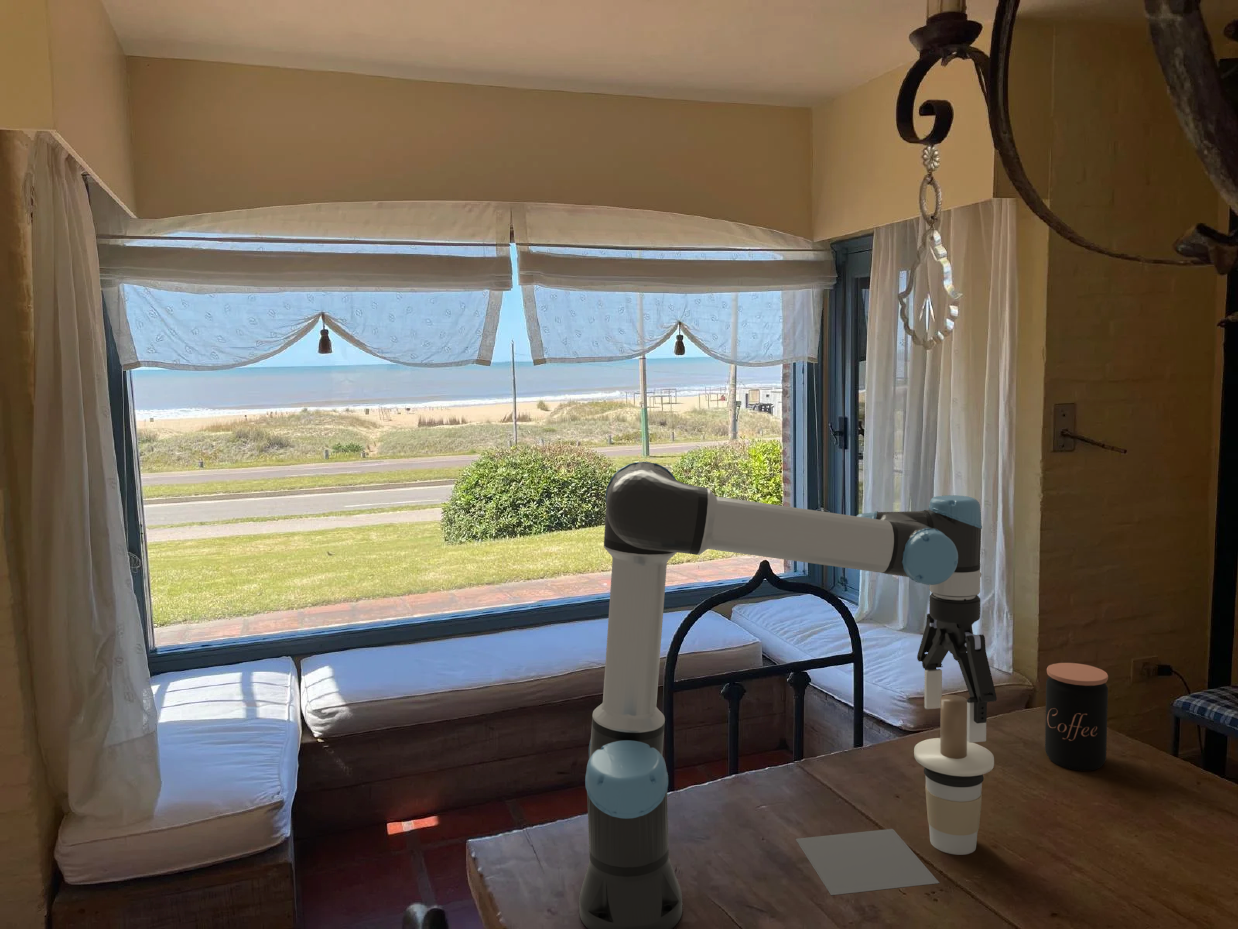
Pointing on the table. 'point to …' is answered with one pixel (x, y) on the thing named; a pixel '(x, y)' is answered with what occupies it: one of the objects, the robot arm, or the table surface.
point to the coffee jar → (1076, 716)
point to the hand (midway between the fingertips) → (953, 724)
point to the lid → (954, 744)
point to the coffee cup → (953, 811)
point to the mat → (865, 862)
